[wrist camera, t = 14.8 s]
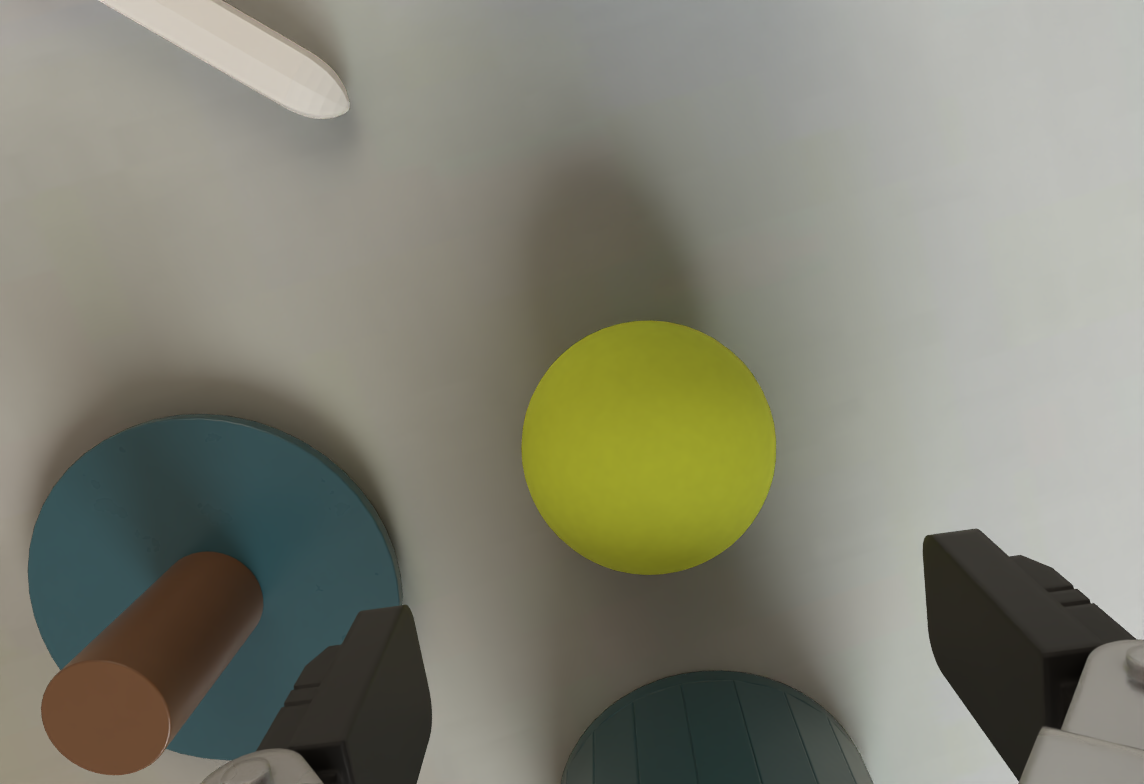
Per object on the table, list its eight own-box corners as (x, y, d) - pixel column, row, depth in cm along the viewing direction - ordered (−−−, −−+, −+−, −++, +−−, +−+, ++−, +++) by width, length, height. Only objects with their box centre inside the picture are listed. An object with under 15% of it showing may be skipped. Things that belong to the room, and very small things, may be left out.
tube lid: (138, 338, 26) (-28, 399, 19) (472, 526, 27) (430, 648, 20) (-6, 634, 28) (-201, 785, 21) (306, 795, 29) (217, 988, 22)
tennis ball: (604, 260, 25) (608, 290, 19) (795, 377, 25) (861, 443, 19) (489, 448, 26) (458, 535, 20) (674, 555, 27) (699, 669, 21)
